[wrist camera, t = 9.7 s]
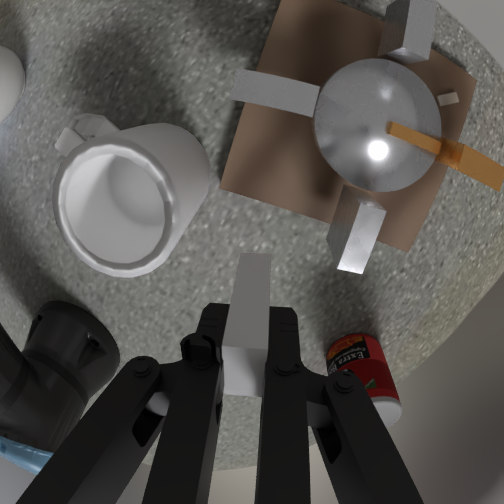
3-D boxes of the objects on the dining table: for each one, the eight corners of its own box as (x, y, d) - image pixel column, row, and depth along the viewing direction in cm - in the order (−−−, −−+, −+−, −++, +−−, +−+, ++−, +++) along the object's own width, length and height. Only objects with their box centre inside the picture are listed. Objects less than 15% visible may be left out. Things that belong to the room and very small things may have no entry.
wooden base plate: (221, 184, 28) (214, 196, 25) (286, -10, 19) (288, -26, 16) (403, 246, 30) (417, 264, 27) (469, 80, 21) (491, 80, 18)
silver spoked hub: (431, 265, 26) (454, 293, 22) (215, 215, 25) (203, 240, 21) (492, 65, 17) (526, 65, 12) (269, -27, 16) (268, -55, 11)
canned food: (357, 322, 35) (379, 392, 25) (391, 348, 37) (414, 412, 27) (312, 356, 38) (320, 427, 28) (349, 378, 40) (362, 442, 30)
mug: (77, 158, 28) (11, 187, 18) (133, 80, 24) (68, 76, 14) (166, 241, 31) (127, 301, 22) (233, 173, 28) (214, 211, 18)
